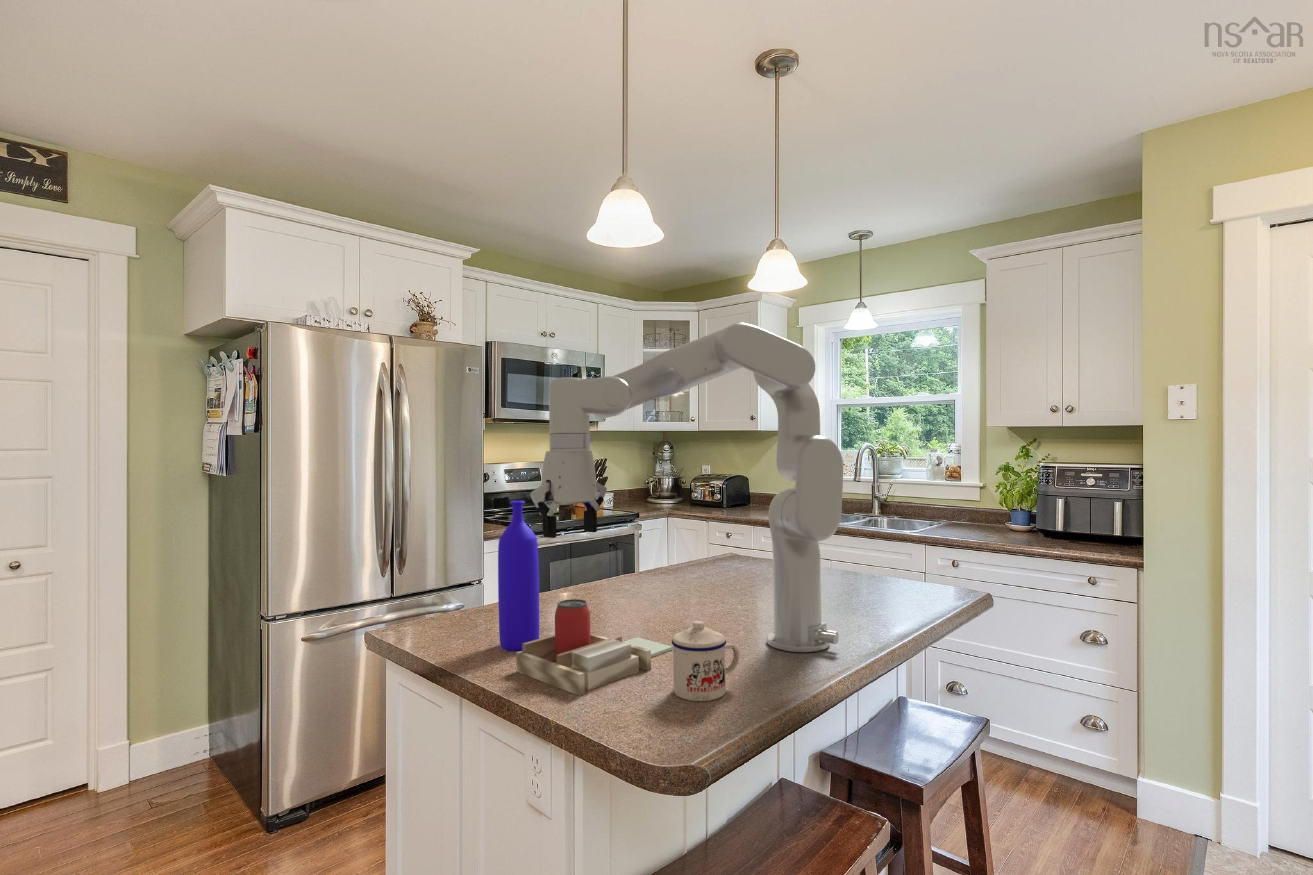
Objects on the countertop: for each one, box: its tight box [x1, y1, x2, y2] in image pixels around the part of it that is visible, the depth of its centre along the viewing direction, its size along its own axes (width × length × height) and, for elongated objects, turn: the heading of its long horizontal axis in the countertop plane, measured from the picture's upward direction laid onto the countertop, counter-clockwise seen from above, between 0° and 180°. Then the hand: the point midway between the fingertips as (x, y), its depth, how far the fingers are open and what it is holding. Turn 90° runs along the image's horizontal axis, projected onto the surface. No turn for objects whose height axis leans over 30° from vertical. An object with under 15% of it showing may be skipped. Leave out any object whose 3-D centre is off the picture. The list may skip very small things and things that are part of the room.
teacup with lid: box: [671, 620, 740, 702], centre depth 111 cm, size 12×9×12 cm
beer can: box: [554, 598, 591, 663], centre depth 124 cm, size 7×7×12 cm
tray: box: [515, 632, 652, 697], centre depth 122 cm, size 18×17×5 cm
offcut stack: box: [570, 639, 640, 691], centre depth 118 cm, size 5×12×6 cm, turn 136°
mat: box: [623, 636, 673, 658], centre depth 133 cm, size 10×10×1 cm
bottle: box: [497, 500, 540, 652], centre depth 138 cm, size 8×8×30 cm
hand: (570, 534), depth 125 cm, fingers open, 9 cm apart
